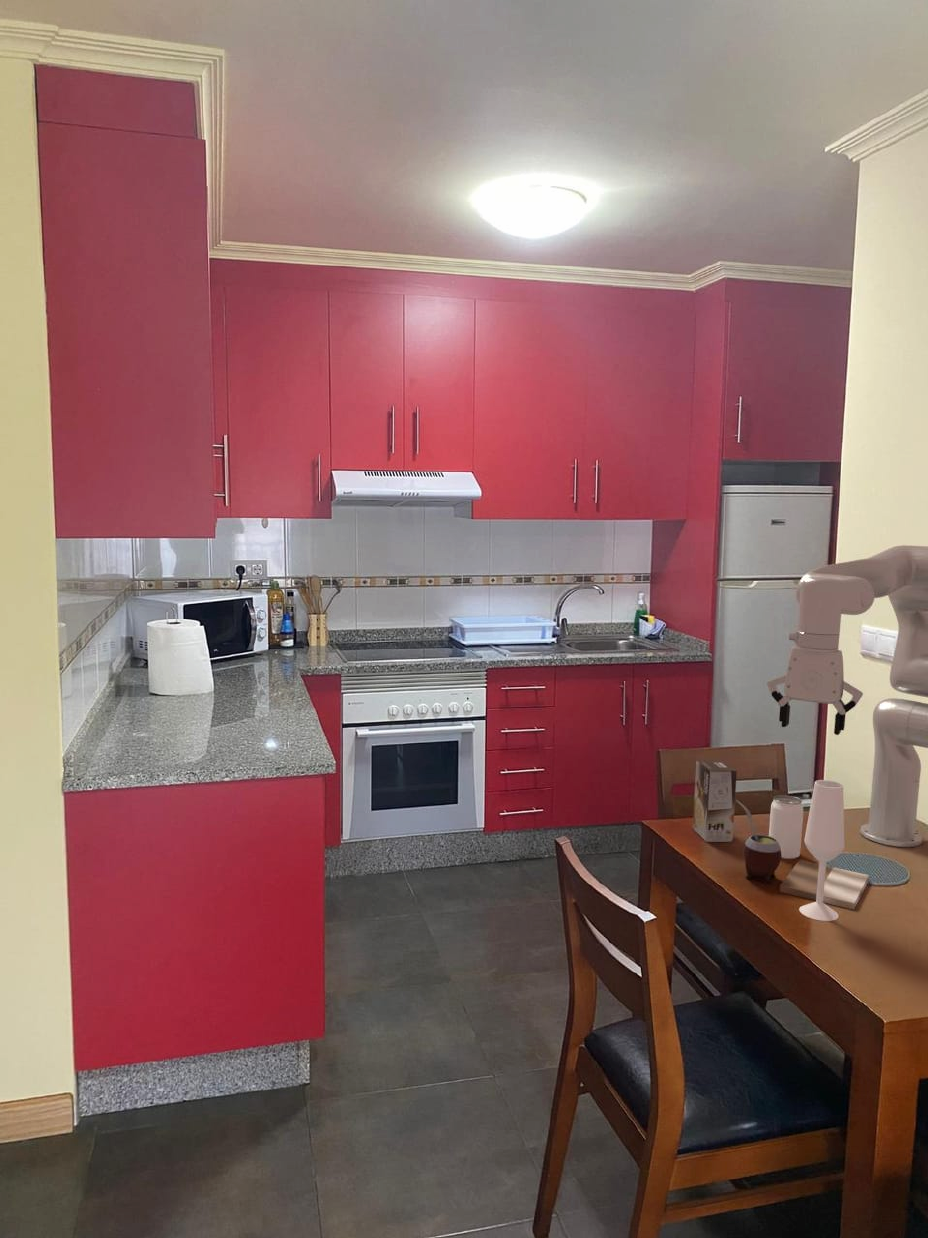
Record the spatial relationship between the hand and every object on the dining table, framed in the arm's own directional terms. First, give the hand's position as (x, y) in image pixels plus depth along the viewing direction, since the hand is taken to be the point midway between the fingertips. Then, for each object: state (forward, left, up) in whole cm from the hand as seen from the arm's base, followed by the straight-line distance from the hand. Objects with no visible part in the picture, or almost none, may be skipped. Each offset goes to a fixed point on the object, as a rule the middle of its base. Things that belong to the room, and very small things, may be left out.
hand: (810, 729), depth 174 cm
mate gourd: (+4, -7, -31) cm, 32 cm away
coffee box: (-15, -22, -31) cm, 41 cm away
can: (-13, -6, -31) cm, 34 cm away
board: (0, +5, -30) cm, 31 cm away
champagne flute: (+13, +6, -31) cm, 34 cm away
